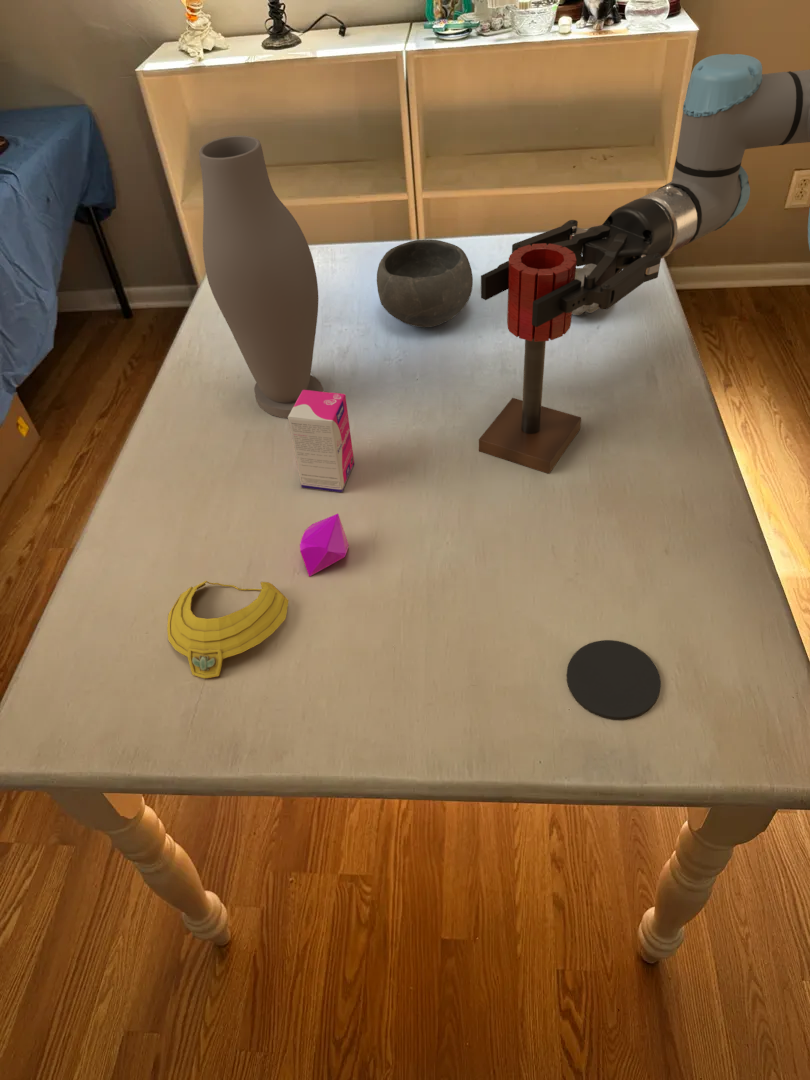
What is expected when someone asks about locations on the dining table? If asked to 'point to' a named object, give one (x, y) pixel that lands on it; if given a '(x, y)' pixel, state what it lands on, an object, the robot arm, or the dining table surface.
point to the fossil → (580, 276)
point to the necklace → (223, 628)
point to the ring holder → (530, 422)
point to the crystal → (323, 544)
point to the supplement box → (322, 440)
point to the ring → (537, 288)
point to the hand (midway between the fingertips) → (508, 300)
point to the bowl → (424, 282)
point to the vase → (259, 271)
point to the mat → (613, 679)
